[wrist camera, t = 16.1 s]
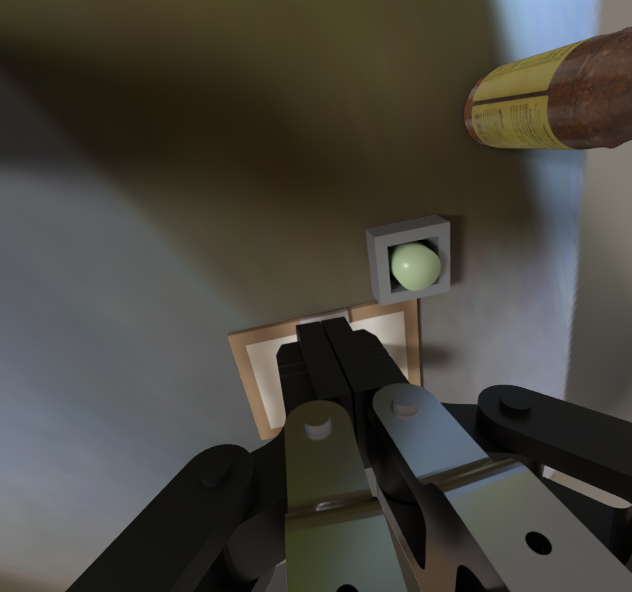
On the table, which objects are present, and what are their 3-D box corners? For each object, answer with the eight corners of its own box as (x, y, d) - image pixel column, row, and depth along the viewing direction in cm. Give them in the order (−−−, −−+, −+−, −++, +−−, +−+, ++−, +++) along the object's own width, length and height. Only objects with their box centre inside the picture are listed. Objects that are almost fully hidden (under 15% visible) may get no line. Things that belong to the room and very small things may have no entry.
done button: (387, 280, 36) (399, 294, 33) (384, 242, 35) (396, 254, 31) (425, 272, 37) (440, 285, 33) (424, 234, 35) (440, 245, 32)
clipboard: (261, 436, 44) (261, 443, 43) (227, 331, 37) (226, 337, 36) (419, 399, 45) (423, 405, 44) (414, 291, 38) (418, 295, 37)
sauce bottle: (513, 149, 33) (805, 178, 16) (451, 143, 32) (687, 164, 14) (538, 67, 31) (926, -14, 13) (471, 56, 30) (793, -48, 12)
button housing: (372, 293, 38) (381, 306, 35) (365, 228, 34) (374, 237, 32) (436, 279, 38) (450, 291, 35) (435, 214, 35) (450, 221, 32)
